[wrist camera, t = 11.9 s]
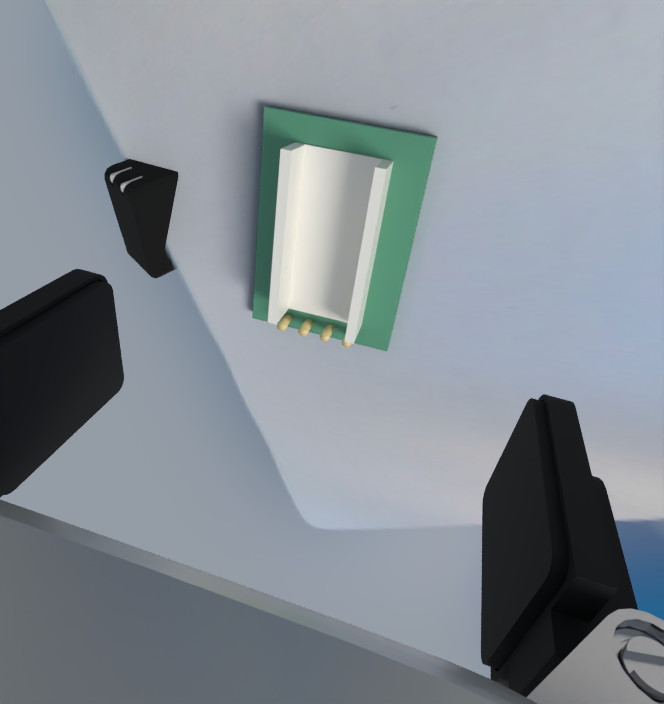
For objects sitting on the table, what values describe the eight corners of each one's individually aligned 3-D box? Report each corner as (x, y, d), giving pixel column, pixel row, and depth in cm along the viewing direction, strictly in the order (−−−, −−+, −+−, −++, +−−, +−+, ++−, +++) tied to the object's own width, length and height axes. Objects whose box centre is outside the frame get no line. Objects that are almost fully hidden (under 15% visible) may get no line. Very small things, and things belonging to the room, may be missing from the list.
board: (268, 106, 37) (245, 110, 33) (437, 137, 35) (433, 145, 32) (256, 313, 47) (237, 334, 43) (388, 345, 45) (380, 371, 41)
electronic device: (211, 220, 54) (128, 258, 49) (200, 133, 46) (101, 168, 41) (235, 240, 52) (152, 281, 47) (228, 153, 44) (127, 192, 39)
